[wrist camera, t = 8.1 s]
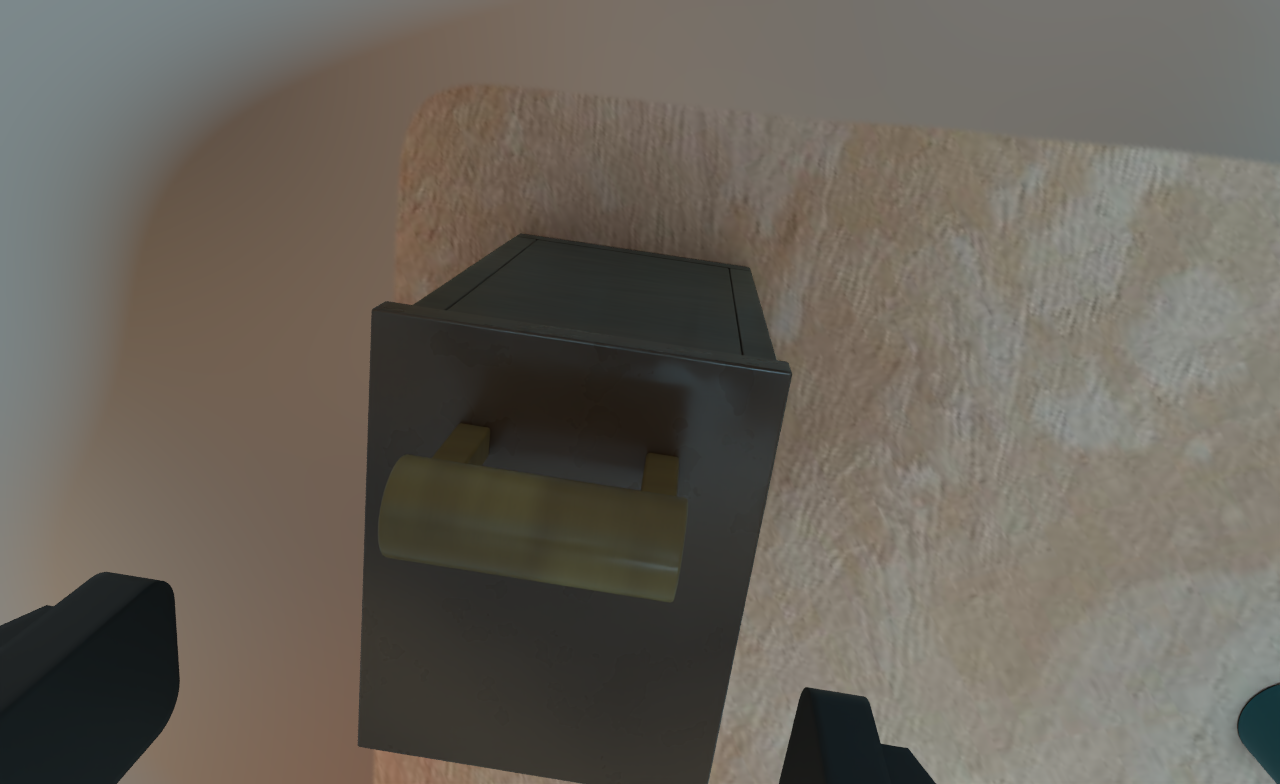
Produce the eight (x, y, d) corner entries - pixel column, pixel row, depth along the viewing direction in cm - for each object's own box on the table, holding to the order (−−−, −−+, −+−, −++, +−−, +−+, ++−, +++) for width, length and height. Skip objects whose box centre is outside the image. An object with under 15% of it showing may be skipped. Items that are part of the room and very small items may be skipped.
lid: (384, 300, 18) (267, 368, 13) (789, 361, 17) (820, 453, 13) (368, 724, 21) (273, 900, 16) (704, 779, 21) (704, 974, 16)
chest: (519, 232, 31) (384, 323, 18) (750, 267, 31) (784, 383, 18) (497, 490, 34) (369, 723, 21) (704, 522, 34) (704, 778, 21)
